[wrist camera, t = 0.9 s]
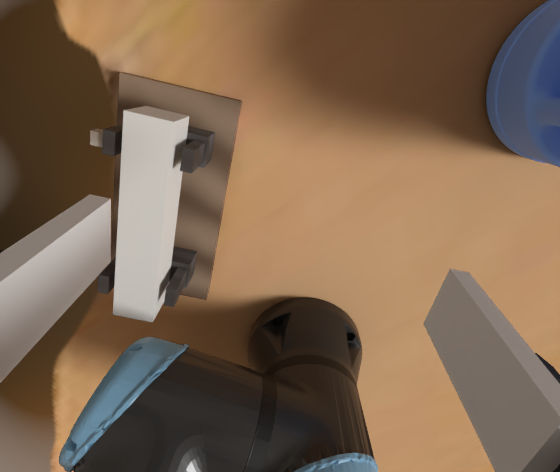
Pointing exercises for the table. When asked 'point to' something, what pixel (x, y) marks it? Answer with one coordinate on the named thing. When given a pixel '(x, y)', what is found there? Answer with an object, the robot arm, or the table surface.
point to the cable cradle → (195, 178)
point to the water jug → (529, 87)
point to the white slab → (147, 209)
